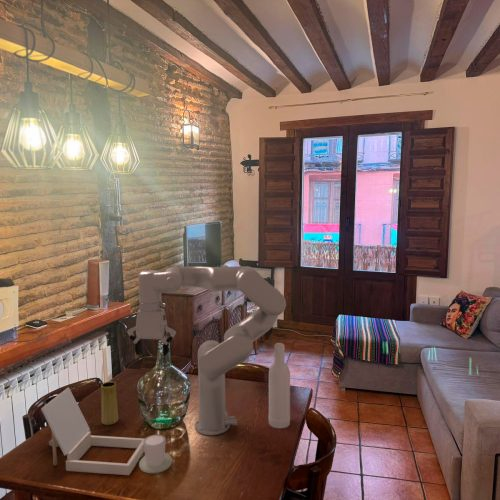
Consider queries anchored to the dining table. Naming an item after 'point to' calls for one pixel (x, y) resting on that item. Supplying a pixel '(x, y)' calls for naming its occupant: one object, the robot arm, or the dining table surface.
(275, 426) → the bottle
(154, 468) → the saucer
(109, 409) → the vase
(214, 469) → the dining table surface
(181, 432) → the dining table surface
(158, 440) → the shot glass
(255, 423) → the dining table surface
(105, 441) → the cold frame
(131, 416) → the dining table surface
